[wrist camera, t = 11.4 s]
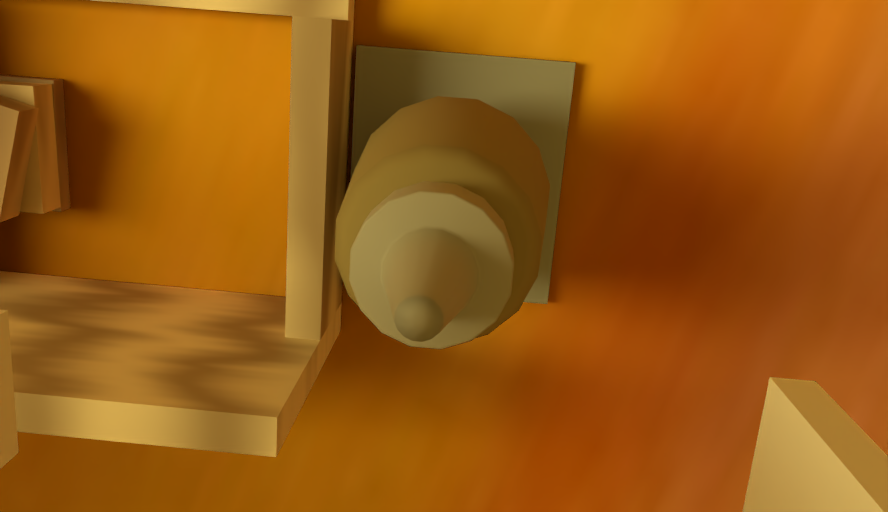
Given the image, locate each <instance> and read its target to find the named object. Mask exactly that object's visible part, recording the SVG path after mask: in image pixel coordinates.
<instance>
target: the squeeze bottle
mask: <svg viewBox="0 0 888 512" xmlns="http://www.w3.org/2000/svg"><path fill="white" fill-rule="evenodd" d="M549 191H550V183H549V180H548V177H547V173H546V170H545V167H544V163H543V160H542V157H541V153H540V150H539V148H538V146H537V145H536V144H535V143H534V142H533V140H532V139H531V138H530V137H529V136H528V134H527V133H526V132H525V131H524V130H523V128H522V127H521V126H520V125H519V124H518V122H517V121H516V120H515V119H514V118H513V117H511V116H510V115H508V114H506V113H504V112H502V111H500V110H498V109H496V108H494V107H492V106H490V105H488V104H486V103H484V102H482V101H480V100H479V99H469V98H456V97H443V96H437V97H434V98H431V99H428V100H425V101H422V102H419V103H416V104H413V105H410V106H407V107H404V108H401V109H399V110H398V111H397V112H396V113H395V114H394V115H393V116H391V117H390V118H389V119H388V120H387V121H386V122H385V123H384V124H382V125H381V126H380V127H379V128H378V129H377V130H376V131H375V132H373V133H372V134H371V136H370V138H369V140H368V142H367V144H366V146H365V149H364V151H363V153H362V155H361V157H360V159H359V161H358V163H357V165H356V168H355V170H354V173H353V175H352V178H351V181H350V183H349V186H348V189H347V191H346V194H345V197H344V200H343V202H342V205H341V208H340V210H339V213H338V216H337V218H336V234H335V261H336V264H337V267H338V269H339V272H340V275H341V277H342V280H343V282H344V285H345V288H346V290H347V293H348V296H349V297H350V298H351V299H352V300H353V301H354V302H355V303H356V304H357V305H358V306H359V308H360V310H361V311H362V312H363V313H364V314H365V315H366V317H367V318H368V319H369V320H370V321H371V322H372V323H373V324H374V325H375V326H376V327H377V328H378V330H379V331H380V332H381V333H383V334H385V335H387V336H389V337H391V338H393V339H395V340H397V341H399V342H402V343H404V344H406V345H408V346H410V347H420V348H431V349H445V348H448V347H452V346H455V345H458V344H462V343H465V342H469V341H472V340H473V339H474V338H477V337H481V336H484V335H488V334H489V333H490V332H492V331H493V330H494V329H495V328H497V327H498V326H499V325H501V324H502V323H503V322H504V321H506V320H507V319H508V318H510V317H511V316H512V315H513V314H515V313H516V312H517V311H519V309H520V307H521V305H522V304H523V302H524V300H525V298H526V296H527V295H528V293H529V291H530V289H531V288H532V286H533V284H534V282H535V281H536V279H537V277H538V272H539V265H540V259H541V252H542V246H543V239H544V233H545V226H546V218H547V209H548V200H549Z"/></svg>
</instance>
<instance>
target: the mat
mask: <svg viewBox="0 0 888 512" xmlns="http://www.w3.org/2000/svg"><path fill="white" fill-rule="evenodd" d="M575 65H576V63H575V62H564V61H551V60H539V59H526V58H513V57H501V56H488V55H476V54H463V53H451V52H438V51H425V50H413V49H400V48H388V47H375V46H363V45H357V47H356V69H355V92H354V115H353V137H352V160H351V178H352V175H353V173H354V170H355V168H356V165H357V163H358V161H359V159H360V157H361V155H362V153H363V151H364V149H365V146H366V144H367V142H368V140H369V138H370V136H371V134H372V133H373V132H375V131H376V130H377V129H378V128H379V127H380V126H381V125H382V124H384V123H385V122H386V121H387V120H388V119H389V118H390V117H391V116H393V115H394V114H395V113H396V112H397V111H398V110H399V109H401V108H404V107H407V106H410V105H413V104H416V103H419V102H422V101H425V100H428V99H431V98H434V97H437V96H443V97H456V98H469V99H479V100H480V101H482V102H484V103H486V104H488V105H490V106H492V107H494V108H496V109H498V110H500V111H502V112H504V113H506V114H508V115H510V116H511V117H513V118H514V119H515V120H516V121H517V122H518V124H519V125H520V126H521V127H522V128H523V130H524V131H525V132H526V133H527V134H528V136H529V137H530V138H531V139H532V140H533V142H534V143H535V144H536V145H537V146H538V148H539V150H540V153H541V157H542V160H543V163H544V167H545V170H546V173H547V177H548V180H549V183H550V191H549V200H548V209H547V218H546V226H545V233H544V239H543V246H542V252H541V259H540V265H539V272H538V277H537V279H536V281H535V282H534V284H533V286H532V288H531V289H530V291H529V293H528V295H527V296H526V298H525V300H524V302H530V303H541V304H547V303H548V294H549V286H550V277H551V269H552V260H553V252H554V243H555V235H556V226H557V218H558V209H559V201H560V192H561V184H562V175H563V167H564V158H565V150H566V141H567V133H568V124H569V116H570V107H571V99H572V90H573V82H574V73H575Z"/></svg>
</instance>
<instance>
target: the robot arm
mask: <svg viewBox="0 0 888 512" xmlns="http://www.w3.org/2000/svg"><path fill="white" fill-rule="evenodd" d="M18 453H19V450H18V437H17V424H16V411H15V398H14V385H13V372H12V359H11V346H10V333H9V320H8V310H0V469H1V468H2V467H3V466H4V465H5V464H6V463H8V462H9V461H10V460H11V459H12V458H13V457H14V456H15V455H16V454H18ZM743 512H888V456H887V455H886V454H885V453H884V452H883V450H882V449H881V448H880V447H879V446H878V445H877V444H876V443H875V442H874V441H873V440H872V439H871V438H870V437H869V436H868V435H867V434H866V433H865V432H864V431H863V430H862V429H861V428H860V427H859V426H858V425H857V424H856V423H855V422H854V421H853V419H852V418H851V417H850V416H849V415H848V414H847V413H846V412H845V411H844V410H843V409H842V408H841V407H840V406H839V405H838V404H837V403H836V402H835V401H834V400H833V399H832V398H831V397H830V396H829V395H828V394H827V393H826V392H825V391H824V390H823V388H822V387H821V386H820V385H819V384H818V383H817V382H816V381H809V380H797V379H786V378H775V377H770V379H769V384H768V389H767V393H766V398H765V403H764V408H763V413H762V418H761V423H760V428H759V433H758V438H757V443H756V448H755V453H754V458H753V463H752V468H751V473H750V478H749V482H748V487H747V492H746V497H745V502H744V507H743Z"/></svg>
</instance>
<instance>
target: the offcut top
mask: <svg viewBox="0 0 888 512" xmlns="http://www.w3.org/2000/svg"><path fill="white" fill-rule="evenodd" d="M38 110H39V108H37V107H34V106H31V105H28V104H25V103H22V102H19V101H16V100H13V99H10V98H7V97H4V96H1V95H0V222H3V221H6V220H8V219H11V218H13V217H16V216H19V213H20V207H21V202H22V196H23V191H24V186H25V180H26V175H27V170H28V164H29V159H30V153H31V148H32V143H33V137H34V132H35V126H36V121H37V116H38Z"/></svg>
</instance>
